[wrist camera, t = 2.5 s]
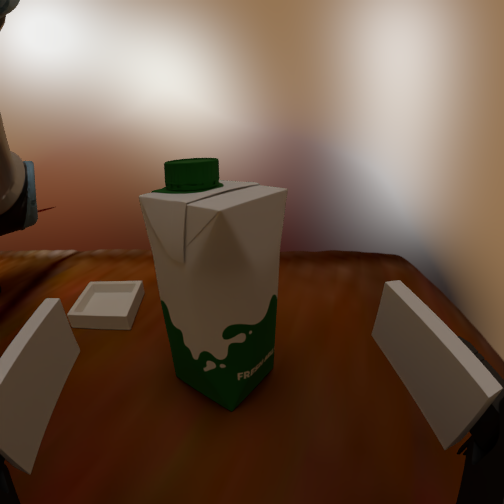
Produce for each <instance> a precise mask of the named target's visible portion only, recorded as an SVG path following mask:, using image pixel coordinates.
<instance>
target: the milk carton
mask: <svg viewBox="0 0 504 504" xmlns="http://www.w3.org/2000/svg"><path fill="white" fill-rule="evenodd" d="M218 164H219V161H218V159H216V158H193V159H192V158H191V159H180V160H173V161H168V162H165V164H164V169H165V184H166V187H164V188H162V189H159V190H154V191H152V192H151V193H148V194H143V195H140V196H139V201H140V205H141V209H142V213H143V218H144V221H145V226H146V230H147V233H148V237H149V241H150V244H151V249H152V253H153V258H154V263H155V270H156V276H157V282H158V288H159V293H160V299H161V304H162V309H163V314H164V319H165V324H166V329H167V333H168V338H169V342H170V347H171V352H172V357H173V362H174V367H175V372H176V376H177V377H178V378H180V379H181V380H182V381H184V382H185V383H187V384H188V385H190V386H191V387H193V388H194V389H196V390H197V391H199V392H201V393H202V394H204V395H205V396H207V397H208V398H210V399H212V400H213V401H215V402H217V403H218V404H220V405H222V406H223V407H225V408H227V409H228V410H230V411H233V410H234V409H235V408H236V407H237V406H238V405H239V404H240V403H241V402H242V401H243V400H244V399H245V398H246V397H247V396H248V394H249V393H250V392H251V391H252V390H253V389H254V388H255V387H256V386H257V385H258V384H259V383H260V382H261V381H262V379H263V378H264V377H265V376H266V375H267V374H268V373H269V372H270V371H271V370H272V368H273V362H274V344H275V328H276V312H277V294H278V275H279V254H280V243H281V236H282V228H283V221H284V213H285V205H286V198H287V191H288V189H284V188H277V187H269V186H261V185H260V184H259V183H254V182H236V181H224V180H219V165H218Z"/></svg>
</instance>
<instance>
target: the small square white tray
mask: <svg viewBox="0 0 504 504" xmlns="http://www.w3.org/2000/svg"><path fill="white" fill-rule="evenodd" d="M143 296H144V288H143V283H142V281H111V282H90V283H89V284H88V286H87V287H86V288H85V290H84V291H83V292H82V294H81V295H80V297H79V298H78V299H77V301H76V302H75V304H74V305H73V307H72V308H71V310H70V311H69V313H68V314H67V316H68V318H69V321H70V324H71V326H72V327H74V328H92V329H116V330H130V329H131V327H132V324H133V321H134V319H135V316H136V313H137V311H138V308H139V306H140V303H141V301H142V298H143Z"/></svg>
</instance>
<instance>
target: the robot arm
mask: <svg viewBox="0 0 504 504" xmlns="http://www.w3.org/2000/svg"><path fill="white" fill-rule="evenodd" d="M19 1H20V0H0V30H1V29H2V27H3V25H4V23H5V17H6V14H8V13H10V12H11V11H12V10H14V9H15V8H16V6H17V5H18V3H19ZM37 219H38V214H37V204H36V190H35V175H34V164H33V162H32V161H23V162H22V160H21V158H20V157H19V156H18V155H17V154H15V153H14V152H12V151H10V149H9V145H8V142H7V138H6V134H5V131H4V127H3V123H2V118H1V114H0V236H2V235H5V234H8V233H11V232H14V231H18V230H24V229H25V228H27V227H29V226H32V225H34V224H35V223H36V222H37ZM0 292H1V287H0ZM372 337H373V338H374V340H375V341H376V342H377V344H378V345H379V347H380V348H381V350H382V351H383V353H384V354H385V356H386V357H387V359H388V360H389V362H390V363H391V365H392V366H393V368H394V369H395V371H396V372H397V374H398V375H399V377H400V378H401V380H402V381H403V383H404V384H405V386H406V387H407V389H408V391H409V392H410V394H411V395H412V397H413V398H414V400H415V402H416V403H417V405H418V406H419V408H420V410H421V411H422V413H423V414H424V416H425V418H426V419H427V421H428V423H429V424H430V426H431V428H432V429H433V431H434V433H435V434H436V436H437V438H438V439H439V441H440V443H441V444H442V446H443V448H444V450H446V449H448V448H449V447H451V446H453V445H455V444H456V443H458V442H460V441H461V440H462V439H463V437H464V436H465V435H466V434H467V433H468V432H469V431H470V433H471V434H472V436H471V437H470V438H469V439H468V440H467V441H466V442H465V443H464V444H463V445H462V446H461V447H460V448H459V450H458V453H457V454H460V453H461V452H462V451H463V450H464V449H465V448H466V447H467V450H466V451H465V452H464V453H463V455H466V460H465V466H464V471H463V476H462V481H461V486H460V490H459V494H458V498H457V502H456V504H504V380H503V379H502V378H501V377H500V375H499V374H498V373H497V372H496V371H495V370H494V369H493V367H492V366H491V365H490V364H489V363H488V362H487V361H486V360H484V357H483V356H482V355H481V354H480V353H479V354H478V351H477V350H476V349H475V348H474V347H473V346H472V344H471V343H469V342H468V341H466V340H465V339H463V338H461V337H460V336H458V337H457V336H456V335H455V334H454V333H453V332H452V331H451V330H450V329H449V328H448V326H447V325H446V324H445V323H444V322H443V321H442V320H441V319H440V318H439V317H438V316H437V315H436V314H435V313H434V312H433V311H432V310H430V309H429V308H428V307H427V306H426V305H425V304H424V303H423V302H422V301H421V300H420V299H419V298H418V297H417V296H416V295H415V294H414V293H413V292H412V291H411V290H410V289H408V288H407V287H406V286H405V285H404V284H403V283H402V282H401V281H400V280H398V281H390V282H385V285H384V289H383V293H382V298H381V302H380V306H379V310H378V313H377V317H376V321H375V325H374V328H373V332H372ZM79 352H80V349H79V347H78V344H77V342H76V340H75V337H74V335H73V333H72V330H71V328H70V325H69V323H68V320H67V317H66V315H65V312H64V309H63V306H62V304H61V301H60V299H59V298H46V299H45V300H44V301H43V303H42V304H41V305H40V306H39V307H38V309H37V310H36V311H35V312H34V314H33V315H32V316H31V317H30V319H29V320H28V321H27V322H26V324H25V325H24V326H23V328H22V329H21V330H20V332H19V333H18V334H17V336H16V337H15V338H14V340H13V341H12V342H11V344H10V345H9V347H8V348H7V349H6V351H5V352H4V354H3V355H2V357H1V358H0V504H20V501H19V499H18V496H17V494H16V491H15V488H14V485H13V482H12V479H11V476H10V473H9V470H8V468H7V466H6V465H5V464H4V461H5V459H6V460H7V461H8V462H9V463H10V464H11V465H13V466H14V467H15V468H17V469H19V470H21V471H23V472H26V473H28V474H30V475H31V471H32V468H33V465H34V462H35V458H36V455H37V452H38V449H39V446H40V444H41V441H42V438H43V435H44V432H45V430H46V427H47V424H48V422H49V419H50V417H51V414H52V412H53V409H54V407H55V405H56V402H57V400H58V397H59V395H60V393H61V391H62V388H63V386H64V384H65V382H66V379H67V377H68V375H69V373H70V371H71V369H72V367H73V365H74V362H75V360H76V358H77V356H78V354H79Z"/></svg>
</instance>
